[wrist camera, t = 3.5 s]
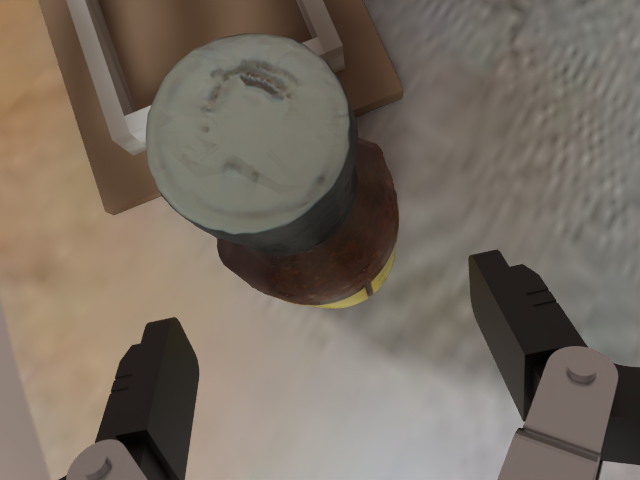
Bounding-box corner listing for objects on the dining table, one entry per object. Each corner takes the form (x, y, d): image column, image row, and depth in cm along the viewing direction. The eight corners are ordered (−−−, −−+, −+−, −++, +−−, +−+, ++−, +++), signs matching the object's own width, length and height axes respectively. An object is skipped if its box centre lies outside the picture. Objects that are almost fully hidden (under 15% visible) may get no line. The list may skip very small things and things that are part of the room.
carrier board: (291, -146, 34) (282, -200, 30) (402, 97, 30) (406, 68, 27) (32, -38, 34) (-5, -79, 31) (113, 215, 31) (81, 201, 27)
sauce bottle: (347, 177, 30) (308, -109, 10) (416, 265, 29) (516, 130, 9) (253, 245, 30) (35, 86, 10) (319, 337, 29) (212, 354, 9)
